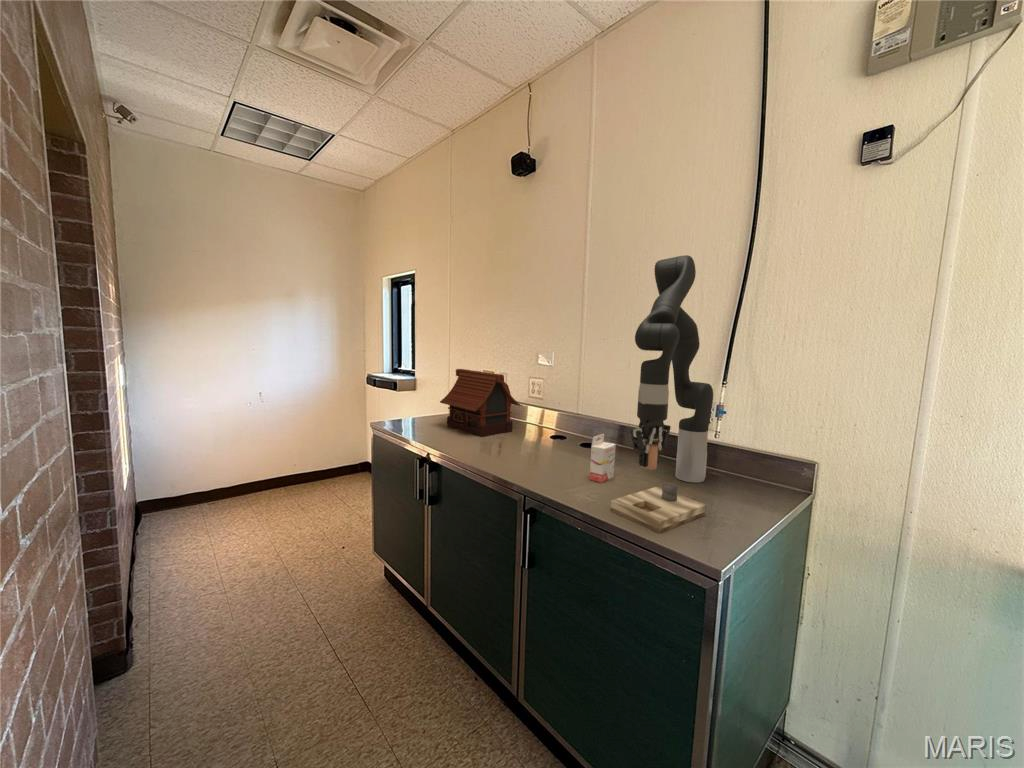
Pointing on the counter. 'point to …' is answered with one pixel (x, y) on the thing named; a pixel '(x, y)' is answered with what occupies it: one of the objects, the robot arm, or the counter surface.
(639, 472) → the counter surface
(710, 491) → the counter surface
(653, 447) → the terracotta pin
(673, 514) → the pin board
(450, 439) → the counter surface
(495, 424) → the house
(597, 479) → the ink cartridge box
